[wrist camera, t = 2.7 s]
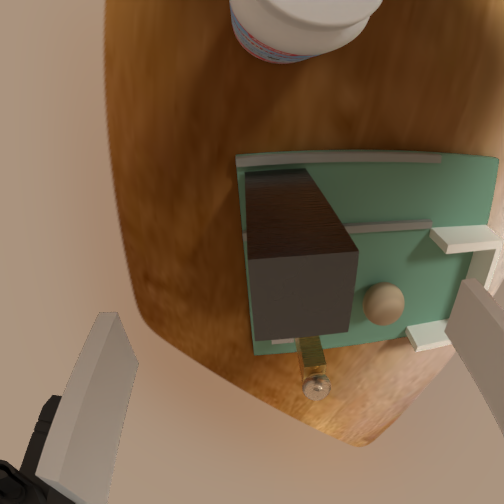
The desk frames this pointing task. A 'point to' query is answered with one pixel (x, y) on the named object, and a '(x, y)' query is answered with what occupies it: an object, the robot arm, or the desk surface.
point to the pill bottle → (298, 26)
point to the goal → (480, 268)
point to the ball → (383, 303)
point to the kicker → (298, 268)
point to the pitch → (390, 226)
